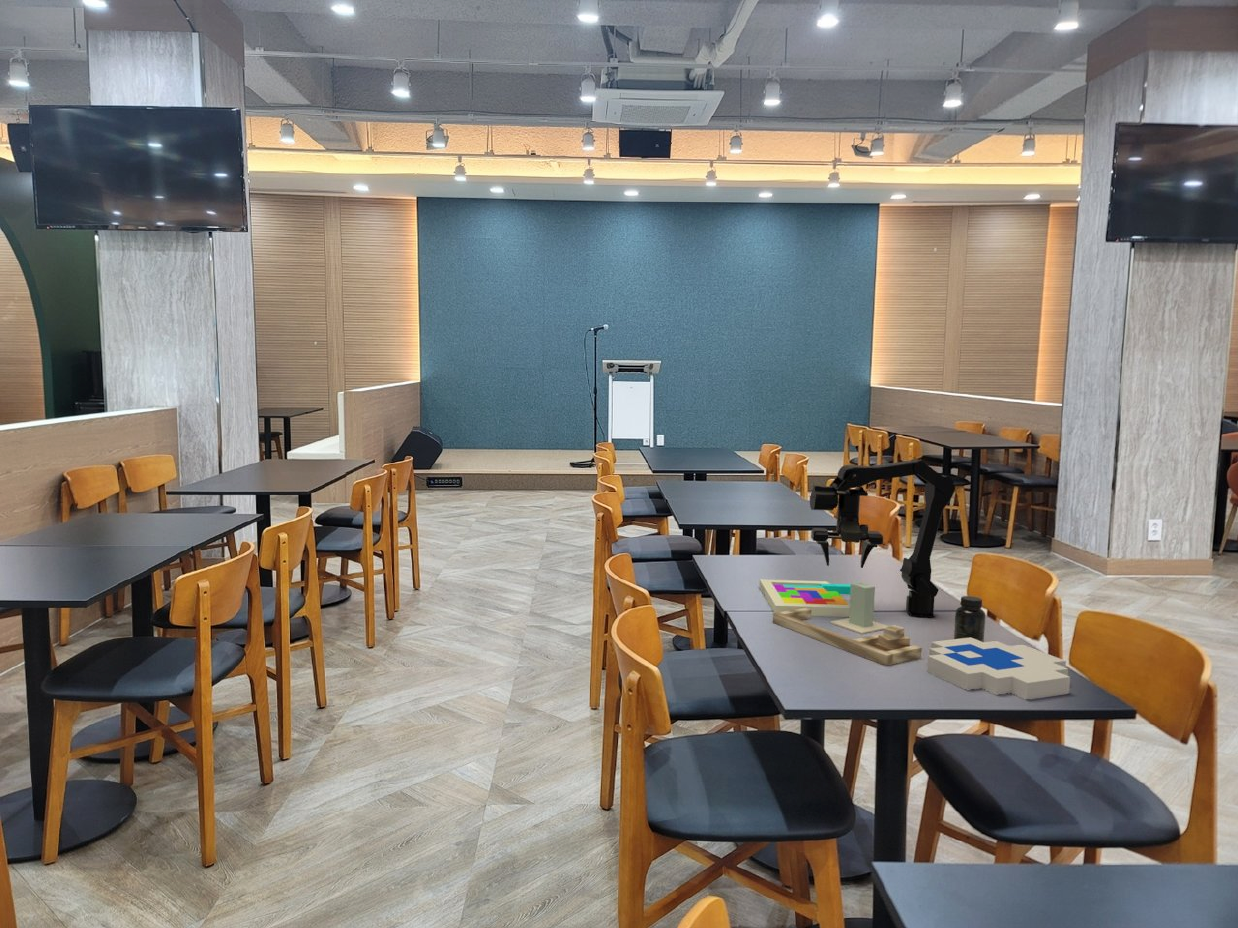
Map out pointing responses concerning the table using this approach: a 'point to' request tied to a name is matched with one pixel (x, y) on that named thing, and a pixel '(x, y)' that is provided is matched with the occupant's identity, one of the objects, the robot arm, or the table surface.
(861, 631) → the mat
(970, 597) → the supplement bottle
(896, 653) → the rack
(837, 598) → the puzzle game
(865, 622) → the tall green pillar
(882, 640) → the offcut oak
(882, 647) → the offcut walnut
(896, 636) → the offcut maple
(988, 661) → the pixel art tile
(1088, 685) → the table surface
